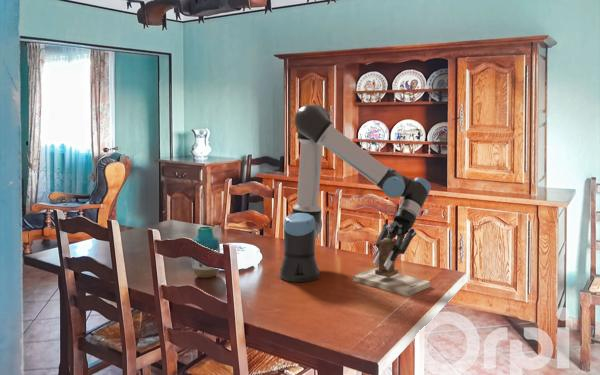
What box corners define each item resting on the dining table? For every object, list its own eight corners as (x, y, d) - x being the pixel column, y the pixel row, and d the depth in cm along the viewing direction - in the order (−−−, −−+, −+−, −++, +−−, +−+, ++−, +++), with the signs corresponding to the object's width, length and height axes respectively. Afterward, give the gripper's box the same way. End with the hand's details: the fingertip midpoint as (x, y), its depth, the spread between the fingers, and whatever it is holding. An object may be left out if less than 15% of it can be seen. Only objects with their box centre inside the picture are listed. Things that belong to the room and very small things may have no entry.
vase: (190, 274, 209) (189, 225, 207) (218, 271, 213) (217, 223, 210) (193, 282, 199) (192, 231, 197) (222, 279, 203) (221, 229, 200)
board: (353, 280, 201) (353, 275, 201) (375, 272, 211) (375, 267, 211) (408, 296, 185) (408, 290, 185) (429, 286, 195) (430, 281, 195)
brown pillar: (375, 273, 197) (375, 238, 196) (384, 270, 201) (384, 236, 200) (388, 277, 193) (389, 241, 191) (397, 273, 197) (398, 238, 195)
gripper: (430, 223, 200) (404, 277, 191) (391, 217, 212) (365, 267, 202) (423, 211, 195) (396, 265, 186) (384, 205, 207) (357, 256, 198)
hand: (380, 266), depth 194 cm, fingers closed on brown pillar, 4 cm apart
